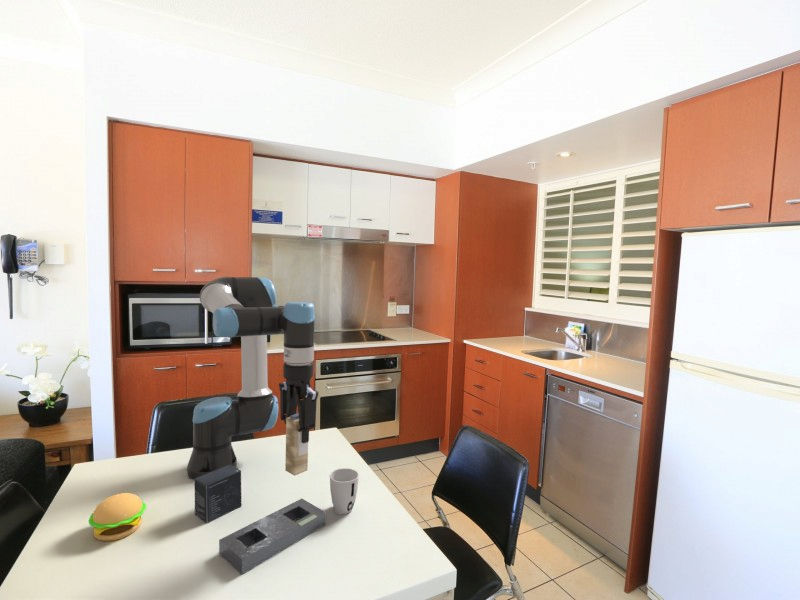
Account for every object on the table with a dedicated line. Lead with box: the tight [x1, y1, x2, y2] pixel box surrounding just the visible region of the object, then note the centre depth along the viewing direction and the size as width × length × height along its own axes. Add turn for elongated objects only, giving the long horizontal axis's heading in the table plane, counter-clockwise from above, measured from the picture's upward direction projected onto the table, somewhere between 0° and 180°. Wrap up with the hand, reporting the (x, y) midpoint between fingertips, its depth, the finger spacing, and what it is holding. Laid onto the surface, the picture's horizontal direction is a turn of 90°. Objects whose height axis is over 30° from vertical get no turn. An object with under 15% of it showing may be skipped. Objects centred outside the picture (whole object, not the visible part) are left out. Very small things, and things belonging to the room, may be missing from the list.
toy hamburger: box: [88, 492, 147, 542], centre depth 104 cm, size 12×12×9 cm
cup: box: [329, 467, 360, 515], centre depth 116 cm, size 8×8×10 cm
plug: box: [284, 413, 309, 476], centre depth 106 cm, size 4×4×15 cm
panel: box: [218, 498, 327, 575], centre depth 102 cm, size 10×24×4 cm, turn 141°
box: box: [193, 465, 242, 524], centre depth 113 cm, size 11×7×10 cm, turn 145°
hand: (296, 451), depth 106 cm, fingers closed on plug, 4 cm apart
